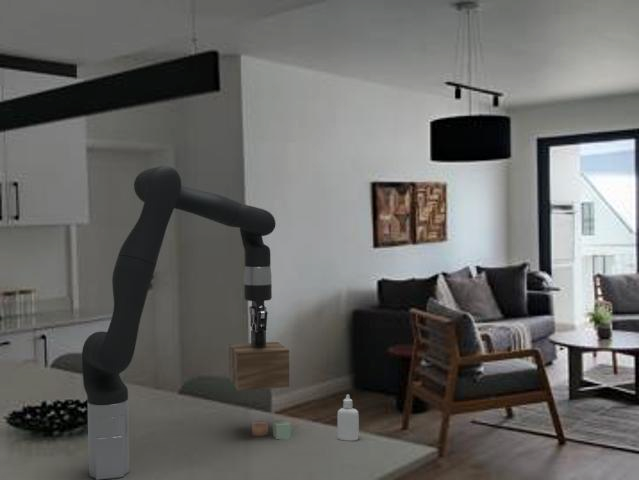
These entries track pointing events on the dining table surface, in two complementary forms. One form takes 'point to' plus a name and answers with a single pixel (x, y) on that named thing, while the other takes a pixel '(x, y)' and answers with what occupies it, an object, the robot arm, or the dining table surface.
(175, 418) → the dining table surface
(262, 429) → the orange flattened ball
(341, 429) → the eye dropper bottle
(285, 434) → the green cube
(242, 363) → the cover
